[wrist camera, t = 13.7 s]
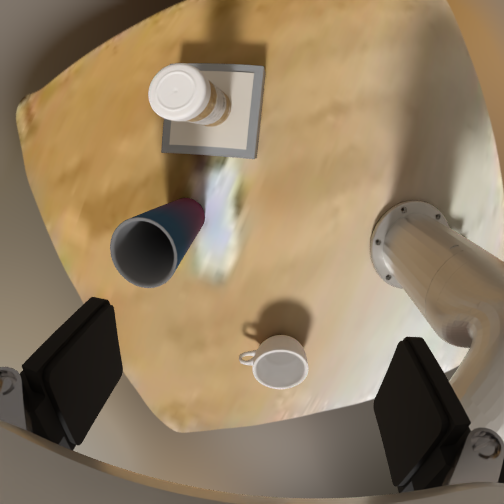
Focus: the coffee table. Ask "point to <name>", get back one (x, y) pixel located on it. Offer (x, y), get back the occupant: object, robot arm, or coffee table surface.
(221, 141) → the base
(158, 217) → the cup
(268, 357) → the teacup
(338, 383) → the coffee table surface
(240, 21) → the coffee table surface
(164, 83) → the sprinkles bottle
